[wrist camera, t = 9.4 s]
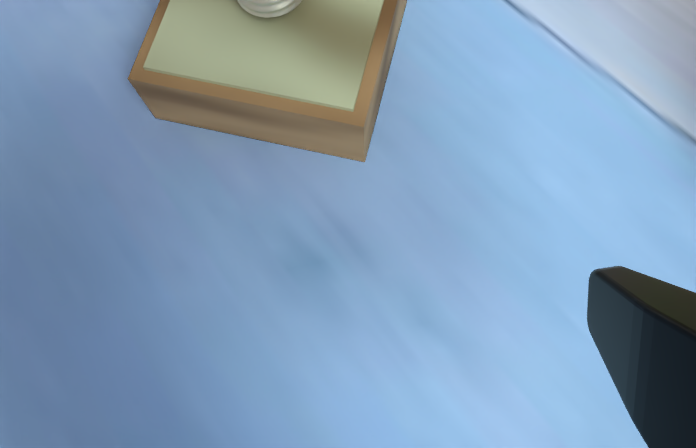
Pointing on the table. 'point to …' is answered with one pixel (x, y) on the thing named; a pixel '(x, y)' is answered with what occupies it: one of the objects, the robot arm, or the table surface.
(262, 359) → the table surface
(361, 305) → the table surface
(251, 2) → the lightbulb
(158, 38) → the pedestal
